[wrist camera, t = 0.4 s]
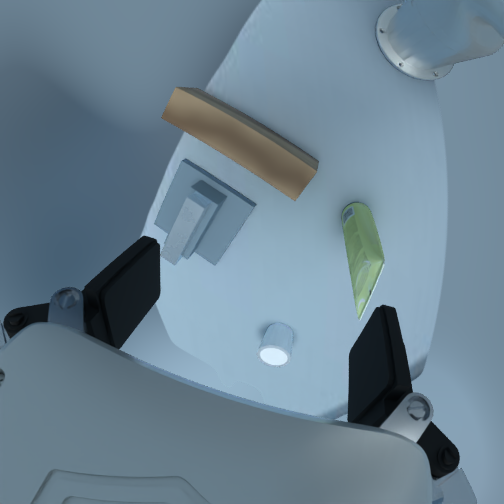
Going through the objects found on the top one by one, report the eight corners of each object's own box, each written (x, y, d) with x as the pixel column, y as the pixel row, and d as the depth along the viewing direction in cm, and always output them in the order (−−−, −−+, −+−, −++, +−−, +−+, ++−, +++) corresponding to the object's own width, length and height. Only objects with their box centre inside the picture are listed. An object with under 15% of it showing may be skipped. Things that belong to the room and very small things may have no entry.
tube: (378, 226, 41) (402, 305, 25) (351, 239, 44) (358, 322, 27) (363, 195, 40) (384, 262, 23) (335, 210, 42) (336, 284, 26)
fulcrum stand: (185, 158, 44) (158, 171, 37) (256, 204, 45) (241, 225, 38) (158, 220, 52) (132, 241, 44) (218, 261, 53) (200, 288, 45)
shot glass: (302, 335, 57) (298, 360, 51) (279, 347, 60) (272, 371, 54) (281, 315, 55) (274, 340, 50) (257, 329, 59) (249, 353, 53)
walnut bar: (197, 88, 38) (175, 87, 32) (318, 161, 39) (317, 171, 33) (184, 114, 40) (161, 118, 35) (300, 186, 42) (295, 201, 36)
